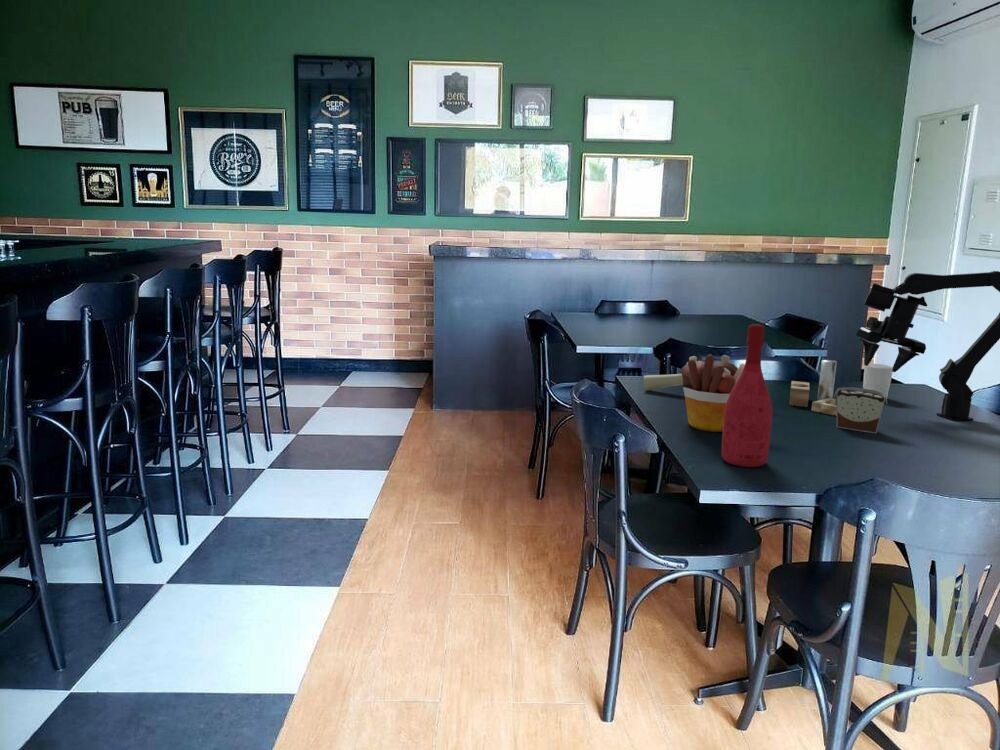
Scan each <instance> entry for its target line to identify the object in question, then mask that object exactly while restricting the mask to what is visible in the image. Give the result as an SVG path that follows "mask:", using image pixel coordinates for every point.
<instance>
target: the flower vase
mask: <svg viewBox="0 0 1000 750" xmlns="http://www.w3.org/2000/svg"><path fill="white" fill-rule="evenodd" d="M642 384H643V388H644V390H645V392H648V391H653V390H657V389H659V390H660V389H663V388H664V389H665V388H670V387H675V386H676V387H677V386H683V378H682V373H675V374H674V373H673V374H655V375H652V374H651V375H644V376H643V381H642Z"/></svg>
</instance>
